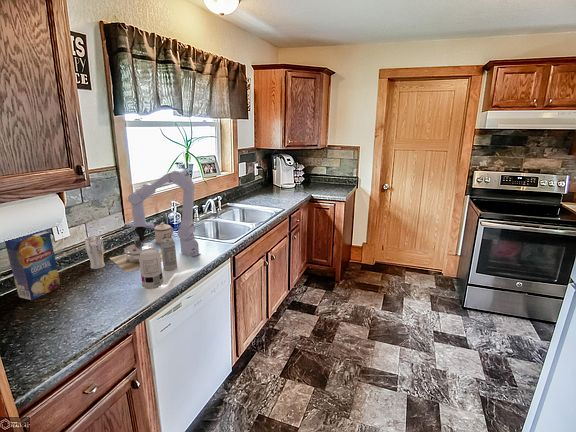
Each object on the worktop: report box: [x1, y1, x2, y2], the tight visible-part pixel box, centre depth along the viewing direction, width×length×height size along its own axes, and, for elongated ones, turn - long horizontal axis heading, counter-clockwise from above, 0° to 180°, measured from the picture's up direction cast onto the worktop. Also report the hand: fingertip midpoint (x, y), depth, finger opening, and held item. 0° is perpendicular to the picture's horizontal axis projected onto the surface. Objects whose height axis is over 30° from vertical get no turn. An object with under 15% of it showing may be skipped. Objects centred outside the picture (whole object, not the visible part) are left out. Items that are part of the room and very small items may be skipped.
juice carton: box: [4, 230, 62, 301], centre depth 131 cm, size 12×8×24 cm, turn 161°
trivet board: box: [109, 247, 163, 273], centre depth 164 cm, size 22×22×1 cm
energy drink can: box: [160, 237, 178, 272], centre depth 151 cm, size 6×6×15 cm
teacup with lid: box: [153, 221, 174, 244], centre depth 188 cm, size 12×9×12 cm
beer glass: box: [84, 235, 106, 270], centre depth 153 cm, size 7×7×15 cm
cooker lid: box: [123, 235, 155, 255], centre depth 164 cm, size 19×14×3 cm
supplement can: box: [139, 248, 164, 290], centre depth 138 cm, size 8×8×15 cm
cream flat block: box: [124, 252, 139, 264], centre depth 164 cm, size 20×13×4 cm, turn 36°
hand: (142, 240), depth 171 cm, fingers closed, pressing on cooker lid
